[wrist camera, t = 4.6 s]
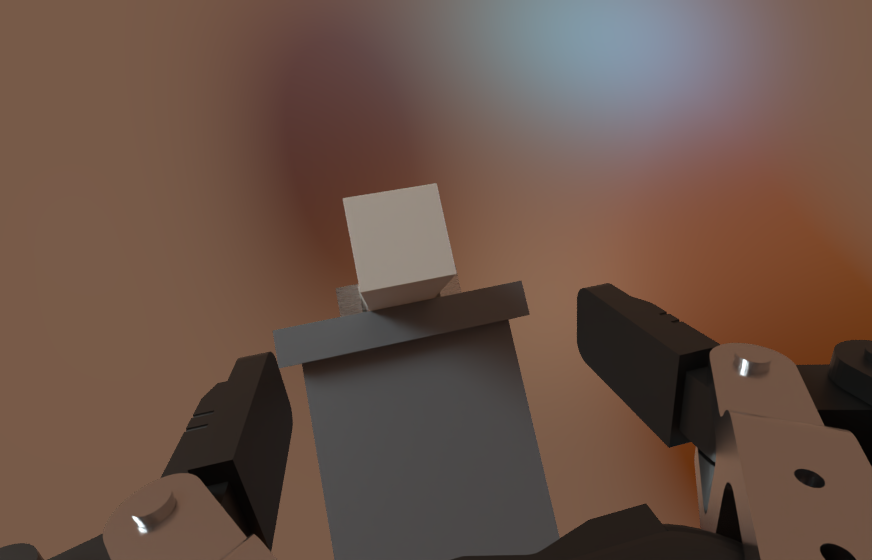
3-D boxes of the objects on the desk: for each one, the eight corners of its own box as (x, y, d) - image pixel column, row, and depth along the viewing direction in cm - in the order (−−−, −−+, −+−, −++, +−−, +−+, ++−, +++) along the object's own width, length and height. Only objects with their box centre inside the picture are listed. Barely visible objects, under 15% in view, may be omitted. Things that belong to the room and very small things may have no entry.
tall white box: (360, 292, 15) (342, 198, 16) (376, 324, 37) (369, 284, 37) (456, 273, 16) (436, 183, 16) (417, 316, 37) (409, 277, 38)
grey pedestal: (377, 1088, 18) (255, 302, 22) (382, 749, 32) (308, 320, 37) (695, 940, 20) (525, 250, 24) (564, 686, 34) (473, 287, 39)
